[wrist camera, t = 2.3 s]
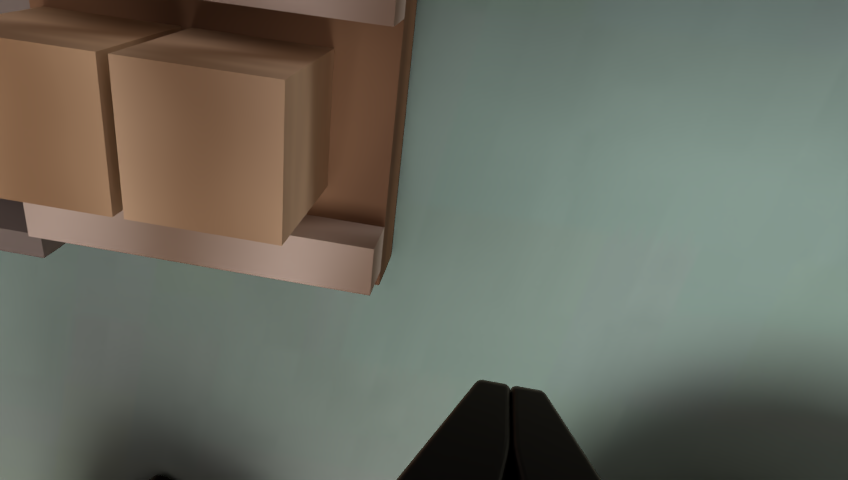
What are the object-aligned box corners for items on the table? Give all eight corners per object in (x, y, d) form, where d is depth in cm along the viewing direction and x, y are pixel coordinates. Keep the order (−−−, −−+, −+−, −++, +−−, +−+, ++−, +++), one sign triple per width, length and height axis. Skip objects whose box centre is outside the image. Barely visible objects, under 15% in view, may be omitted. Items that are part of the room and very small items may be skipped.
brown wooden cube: (334, 48, 18) (284, 79, 14) (327, 186, 20) (281, 246, 16) (191, 27, 18) (107, 53, 15) (197, 165, 20) (124, 219, 16)
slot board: (424, -68, 18) (401, -65, 15) (390, 256, 23) (368, 310, 19) (60, -114, 19) (-32, -121, 16) (98, 206, 23) (31, 251, 20)
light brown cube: (180, 26, 18) (95, 52, 15) (187, 164, 20) (112, 217, 16) (43, 6, 18) (-74, 26, 15) (61, 144, 20) (-39, 191, 17)
